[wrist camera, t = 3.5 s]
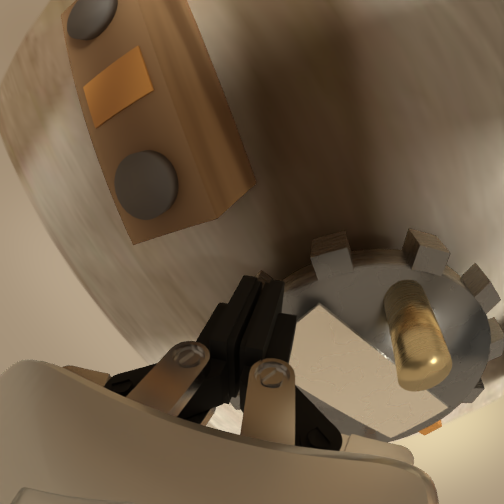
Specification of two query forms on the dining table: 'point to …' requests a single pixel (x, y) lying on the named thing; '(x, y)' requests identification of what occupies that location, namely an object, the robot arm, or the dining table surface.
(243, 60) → the dining table surface
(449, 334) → the sprocket
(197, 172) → the tan block with disc
